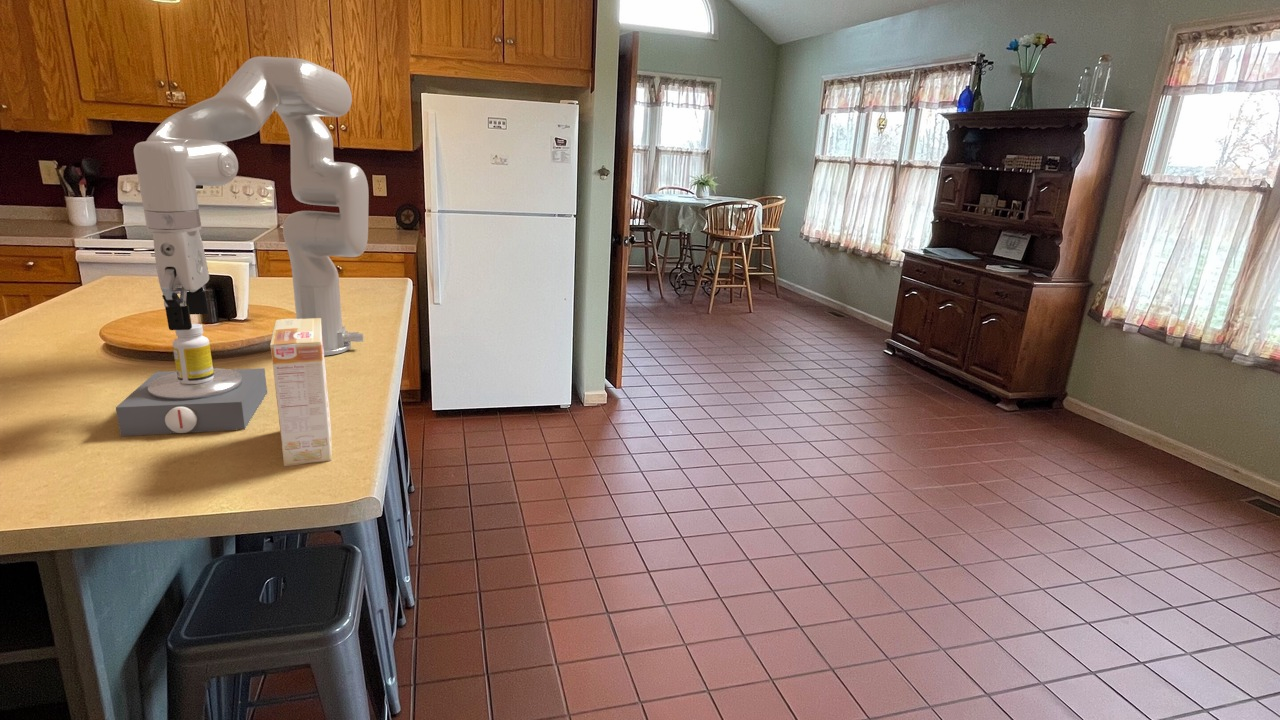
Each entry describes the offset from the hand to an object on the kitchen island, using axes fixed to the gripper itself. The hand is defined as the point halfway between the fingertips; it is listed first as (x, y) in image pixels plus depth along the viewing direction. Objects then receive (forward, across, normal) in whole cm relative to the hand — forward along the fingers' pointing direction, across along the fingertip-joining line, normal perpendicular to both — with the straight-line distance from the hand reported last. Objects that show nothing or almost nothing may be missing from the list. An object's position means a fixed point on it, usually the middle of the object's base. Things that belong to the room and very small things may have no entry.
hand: (189, 321), depth 119 cm
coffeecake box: (+17, -18, -20) cm, 31 cm away
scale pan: (+12, -1, 0) cm, 12 cm away
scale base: (+17, -1, 0) cm, 17 cm away
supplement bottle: (+11, 0, 0) cm, 11 cm away
